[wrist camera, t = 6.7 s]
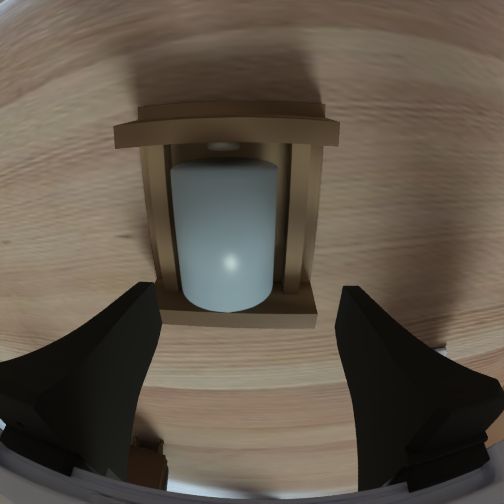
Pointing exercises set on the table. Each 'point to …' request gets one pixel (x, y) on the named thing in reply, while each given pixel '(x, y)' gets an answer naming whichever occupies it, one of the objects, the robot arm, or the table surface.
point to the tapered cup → (225, 230)
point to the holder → (236, 145)
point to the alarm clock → (147, 467)
